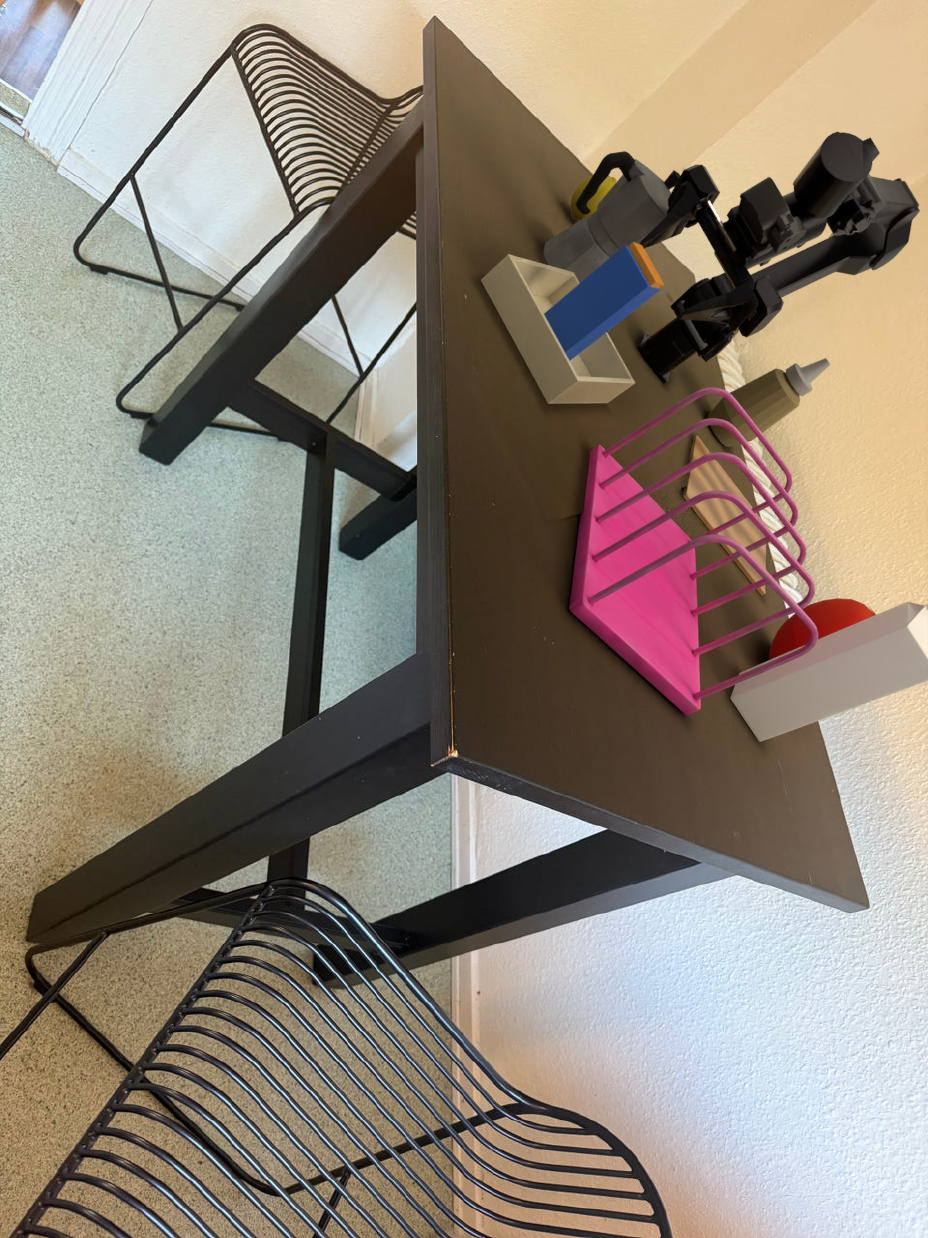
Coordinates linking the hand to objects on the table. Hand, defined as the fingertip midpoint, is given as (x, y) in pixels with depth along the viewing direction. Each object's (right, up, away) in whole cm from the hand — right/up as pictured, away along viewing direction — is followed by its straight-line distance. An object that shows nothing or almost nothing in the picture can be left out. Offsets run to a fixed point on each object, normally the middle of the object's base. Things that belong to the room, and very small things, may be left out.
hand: (660, 280), depth 91 cm
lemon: (-6, +21, +30) cm, 38 cm away
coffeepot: (-10, +8, +16) cm, 20 cm away
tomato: (+16, -44, +10) cm, 48 cm away
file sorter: (-5, -33, -7) cm, 34 cm away
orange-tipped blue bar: (-12, -7, +2) cm, 14 cm away
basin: (-13, -7, +2) cm, 14 cm away
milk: (+10, -47, 0) cm, 48 cm away
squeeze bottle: (+17, -8, +37) cm, 42 cm away
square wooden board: (+15, -23, +23) cm, 35 cm away
